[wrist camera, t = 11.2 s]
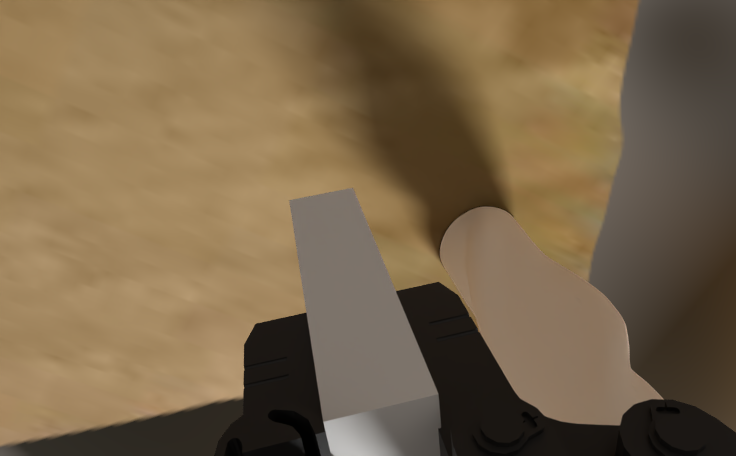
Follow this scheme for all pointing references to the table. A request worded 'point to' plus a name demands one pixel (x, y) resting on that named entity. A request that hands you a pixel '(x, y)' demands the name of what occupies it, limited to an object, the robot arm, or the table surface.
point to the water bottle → (542, 322)
